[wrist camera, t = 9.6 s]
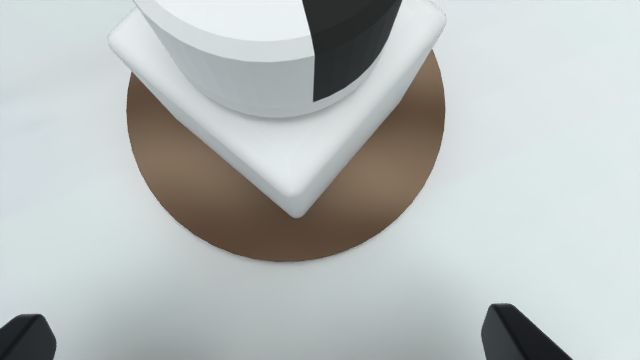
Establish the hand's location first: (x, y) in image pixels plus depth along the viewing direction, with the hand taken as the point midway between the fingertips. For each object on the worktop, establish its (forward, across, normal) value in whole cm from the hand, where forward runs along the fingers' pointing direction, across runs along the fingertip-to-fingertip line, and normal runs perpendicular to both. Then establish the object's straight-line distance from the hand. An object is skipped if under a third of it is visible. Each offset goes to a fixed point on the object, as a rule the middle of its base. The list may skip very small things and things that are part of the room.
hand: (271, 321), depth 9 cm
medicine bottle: (+12, 0, +1) cm, 12 cm away
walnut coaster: (+13, 0, +1) cm, 13 cm away
